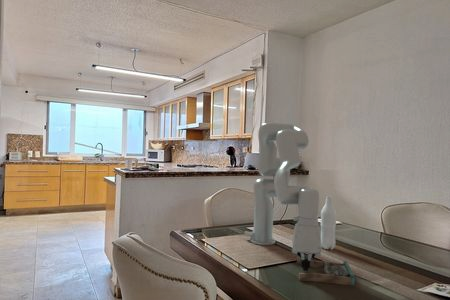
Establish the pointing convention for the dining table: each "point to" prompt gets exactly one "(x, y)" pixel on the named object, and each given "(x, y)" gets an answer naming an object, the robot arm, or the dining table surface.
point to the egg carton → (335, 270)
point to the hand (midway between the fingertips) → (305, 269)
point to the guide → (326, 277)
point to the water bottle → (328, 224)
